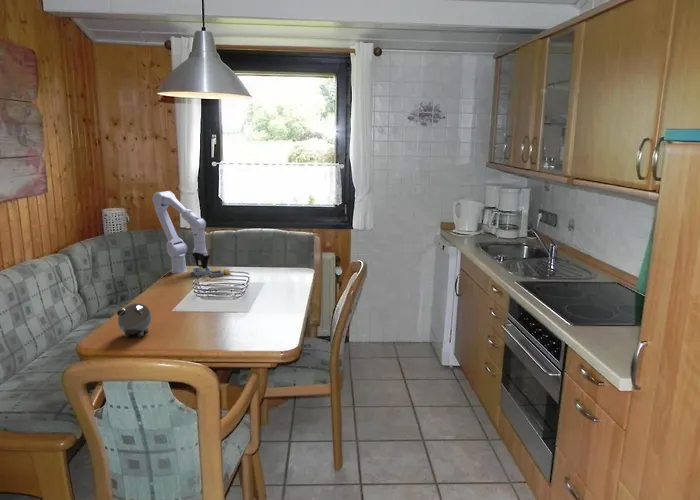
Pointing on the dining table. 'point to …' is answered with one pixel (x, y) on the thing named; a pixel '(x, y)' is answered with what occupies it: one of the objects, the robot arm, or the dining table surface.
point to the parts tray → (197, 273)
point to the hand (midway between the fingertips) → (201, 267)
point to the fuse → (200, 266)
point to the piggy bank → (134, 319)
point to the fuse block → (220, 273)
